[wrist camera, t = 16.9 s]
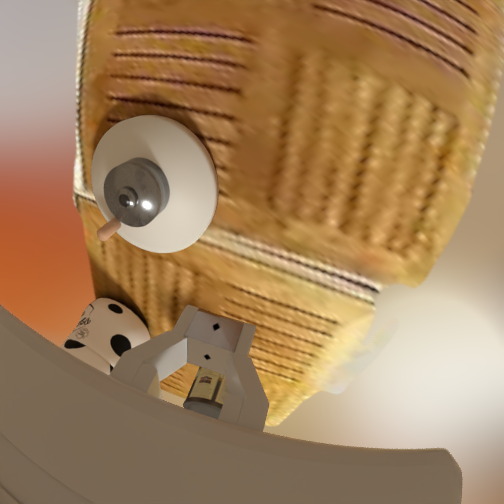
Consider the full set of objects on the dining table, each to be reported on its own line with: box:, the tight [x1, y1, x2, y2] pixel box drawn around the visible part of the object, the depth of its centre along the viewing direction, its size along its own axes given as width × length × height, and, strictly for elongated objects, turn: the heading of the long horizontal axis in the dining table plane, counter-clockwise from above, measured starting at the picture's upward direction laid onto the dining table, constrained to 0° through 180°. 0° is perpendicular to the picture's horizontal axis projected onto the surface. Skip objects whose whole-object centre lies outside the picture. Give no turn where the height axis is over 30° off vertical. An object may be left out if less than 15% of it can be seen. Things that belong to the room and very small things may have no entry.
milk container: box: [60, 298, 150, 375], centre depth 54 cm, size 17×17×18 cm
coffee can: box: [183, 367, 229, 419], centre depth 54 cm, size 10×10×14 cm
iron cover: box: [104, 157, 170, 227], centre depth 36 cm, size 9×9×5 cm
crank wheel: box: [91, 115, 219, 253], centre depth 37 cm, size 21×21×6 cm
